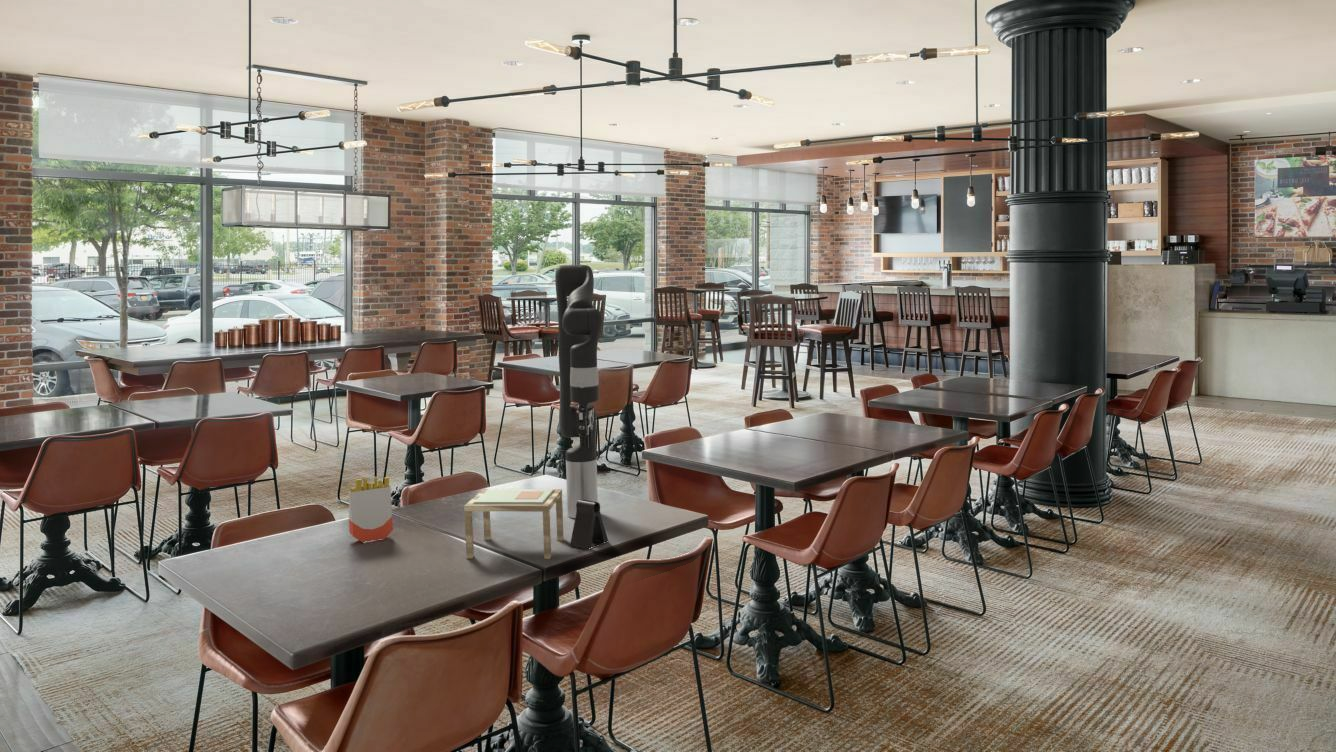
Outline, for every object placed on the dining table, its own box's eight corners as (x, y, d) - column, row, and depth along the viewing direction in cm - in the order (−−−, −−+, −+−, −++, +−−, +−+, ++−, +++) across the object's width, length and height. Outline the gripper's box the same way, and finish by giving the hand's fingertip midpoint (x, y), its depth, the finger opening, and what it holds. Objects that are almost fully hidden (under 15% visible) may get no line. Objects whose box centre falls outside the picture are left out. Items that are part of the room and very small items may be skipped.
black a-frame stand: (586, 550, 250) (585, 506, 248) (569, 546, 253) (568, 503, 252) (608, 542, 257) (607, 499, 256) (591, 538, 260) (590, 496, 259)
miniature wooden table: (485, 538, 263) (483, 489, 261) (563, 538, 261) (562, 489, 259) (466, 558, 245) (464, 505, 243) (550, 558, 243) (548, 505, 241)
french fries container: (349, 541, 263) (346, 477, 260) (389, 534, 268) (385, 472, 266) (353, 545, 259) (349, 480, 257) (393, 538, 264) (389, 475, 262)
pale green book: (489, 495, 259) (488, 488, 259) (553, 495, 258) (553, 488, 257) (474, 509, 245) (473, 501, 245) (542, 509, 243) (541, 501, 243)
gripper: (575, 380, 257) (577, 441, 259) (565, 387, 243) (567, 452, 245) (602, 380, 257) (604, 441, 259) (594, 387, 242) (595, 452, 244)
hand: (586, 446), depth 252 cm, fingers open, 5 cm apart
